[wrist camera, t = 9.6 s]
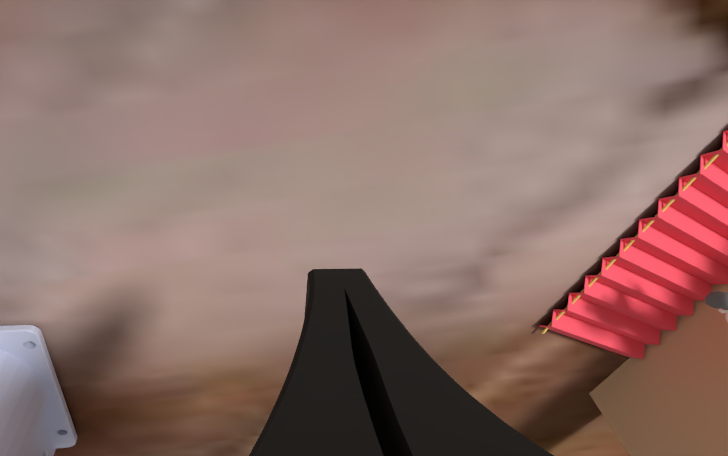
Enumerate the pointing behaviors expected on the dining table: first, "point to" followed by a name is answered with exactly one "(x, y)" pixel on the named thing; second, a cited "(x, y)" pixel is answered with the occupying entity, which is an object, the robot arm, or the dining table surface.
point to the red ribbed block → (665, 322)
